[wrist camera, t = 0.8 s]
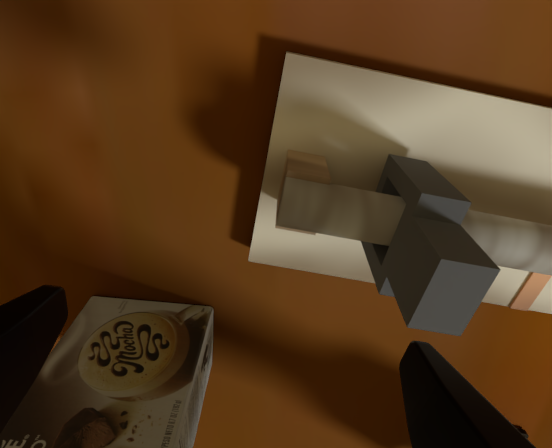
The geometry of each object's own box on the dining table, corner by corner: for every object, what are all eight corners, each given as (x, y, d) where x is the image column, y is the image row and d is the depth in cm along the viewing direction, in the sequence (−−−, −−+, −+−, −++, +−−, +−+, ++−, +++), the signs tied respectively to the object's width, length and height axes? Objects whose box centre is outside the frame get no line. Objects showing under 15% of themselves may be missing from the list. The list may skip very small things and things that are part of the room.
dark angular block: (393, 243, 20) (448, 354, 13) (359, 237, 20) (397, 346, 13) (426, 161, 18) (516, 243, 11) (388, 153, 18) (454, 232, 11)
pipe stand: (611, 311, 25) (697, 386, 20) (250, 248, 23) (239, 310, 18) (749, 149, 19) (922, 192, 14) (286, 51, 18) (285, 58, 12)
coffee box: (103, 353, 29) (-78, 665, 15) (91, 292, 26) (-153, 610, 11) (214, 364, 29) (142, 682, 15) (215, 304, 26) (127, 632, 12)
